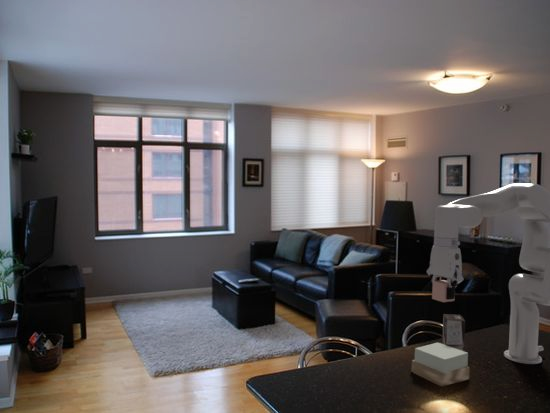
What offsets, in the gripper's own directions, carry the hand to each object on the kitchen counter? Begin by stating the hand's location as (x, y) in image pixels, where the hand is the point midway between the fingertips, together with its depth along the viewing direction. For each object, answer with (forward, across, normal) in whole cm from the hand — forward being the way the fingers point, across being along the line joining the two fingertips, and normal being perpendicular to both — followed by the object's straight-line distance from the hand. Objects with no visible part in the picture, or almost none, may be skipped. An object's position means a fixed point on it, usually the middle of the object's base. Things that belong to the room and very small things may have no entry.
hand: (443, 296), depth 161 cm
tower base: (+27, 0, 0) cm, 27 cm away
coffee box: (+27, +8, -15) cm, 32 cm away
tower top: (+23, 0, 0) cm, 23 cm away
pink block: (+1, 0, 0) cm, 1 cm away
